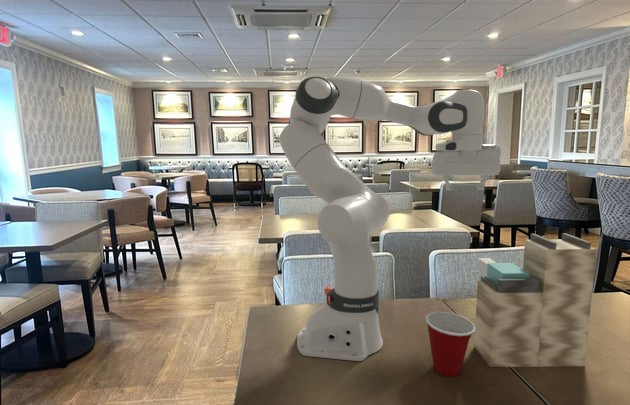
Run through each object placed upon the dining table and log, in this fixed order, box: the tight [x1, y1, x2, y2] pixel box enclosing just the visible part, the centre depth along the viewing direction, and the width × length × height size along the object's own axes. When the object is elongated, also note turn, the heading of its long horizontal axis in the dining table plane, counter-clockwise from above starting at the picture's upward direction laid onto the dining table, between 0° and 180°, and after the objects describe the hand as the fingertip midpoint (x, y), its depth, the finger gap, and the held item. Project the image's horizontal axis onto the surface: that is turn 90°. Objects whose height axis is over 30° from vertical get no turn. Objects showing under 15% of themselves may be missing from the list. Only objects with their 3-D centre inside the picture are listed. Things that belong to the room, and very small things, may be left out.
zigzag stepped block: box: [473, 232, 597, 368], centre depth 92 cm, size 22×9×30 cm, turn 90°
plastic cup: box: [424, 311, 476, 377], centre depth 88 cm, size 11×11×12 cm
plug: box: [477, 257, 529, 285], centre depth 97 cm, size 6×17×4 cm, turn 0°
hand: (464, 189), depth 120 cm, fingers open, 8 cm apart
